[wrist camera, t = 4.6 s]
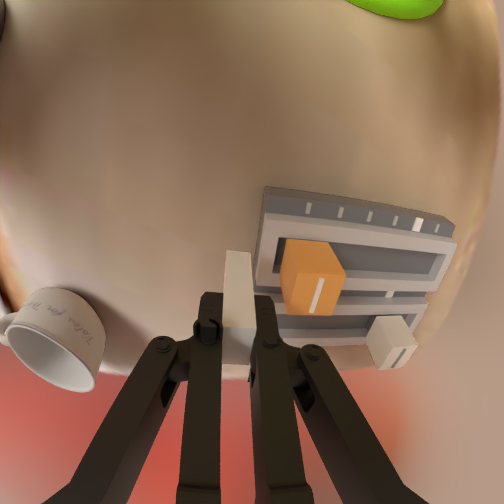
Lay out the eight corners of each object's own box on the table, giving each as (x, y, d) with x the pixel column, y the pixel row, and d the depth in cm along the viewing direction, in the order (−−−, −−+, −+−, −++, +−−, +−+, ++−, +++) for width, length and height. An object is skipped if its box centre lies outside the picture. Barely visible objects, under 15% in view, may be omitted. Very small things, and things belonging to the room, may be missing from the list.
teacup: (119, 295, 25) (92, 357, 18) (112, 355, 30) (95, 407, 23) (15, 249, 22) (-26, 293, 15) (24, 315, 26) (-2, 357, 20)
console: (264, 186, 20) (269, 201, 18) (443, 216, 22) (462, 231, 19) (245, 323, 27) (246, 347, 25) (395, 323, 29) (406, 342, 26)
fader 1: (284, 230, 20) (298, 273, 15) (323, 234, 20) (347, 276, 15) (276, 268, 21) (287, 316, 17) (313, 270, 22) (332, 316, 17)
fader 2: (372, 307, 24) (393, 348, 20) (396, 307, 24) (419, 345, 20) (360, 331, 26) (377, 371, 21) (384, 330, 26) (403, 368, 22)
